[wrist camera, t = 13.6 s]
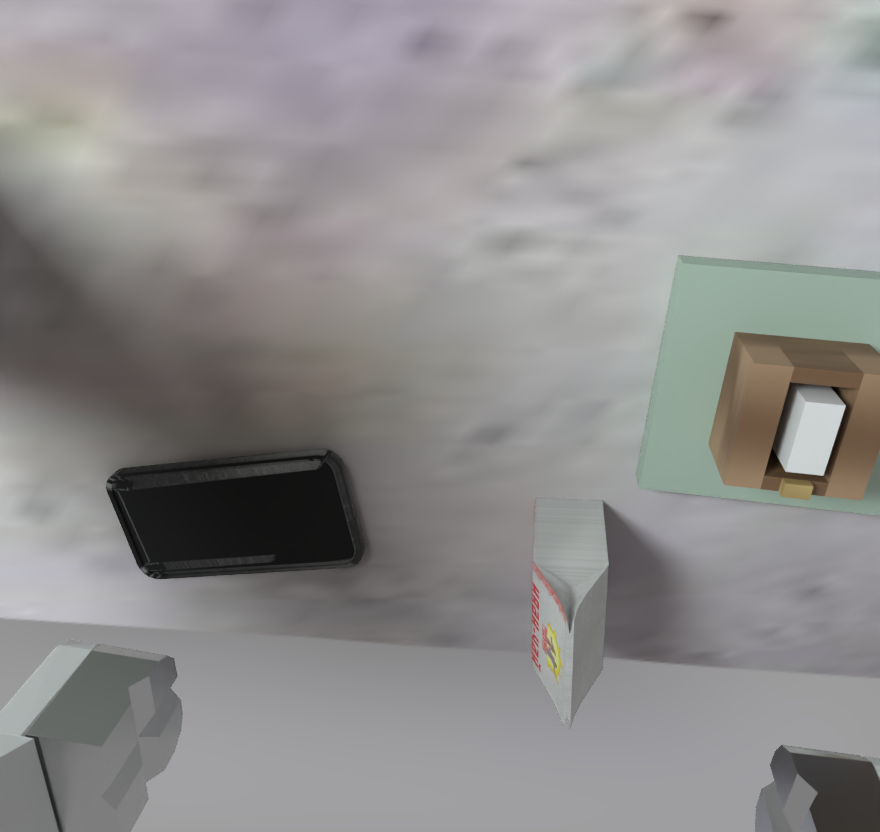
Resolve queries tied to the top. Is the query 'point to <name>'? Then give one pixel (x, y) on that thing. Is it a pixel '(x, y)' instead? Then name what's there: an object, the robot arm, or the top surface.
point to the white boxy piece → (569, 598)
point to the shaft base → (705, 360)
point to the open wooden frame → (761, 402)
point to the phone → (239, 515)
